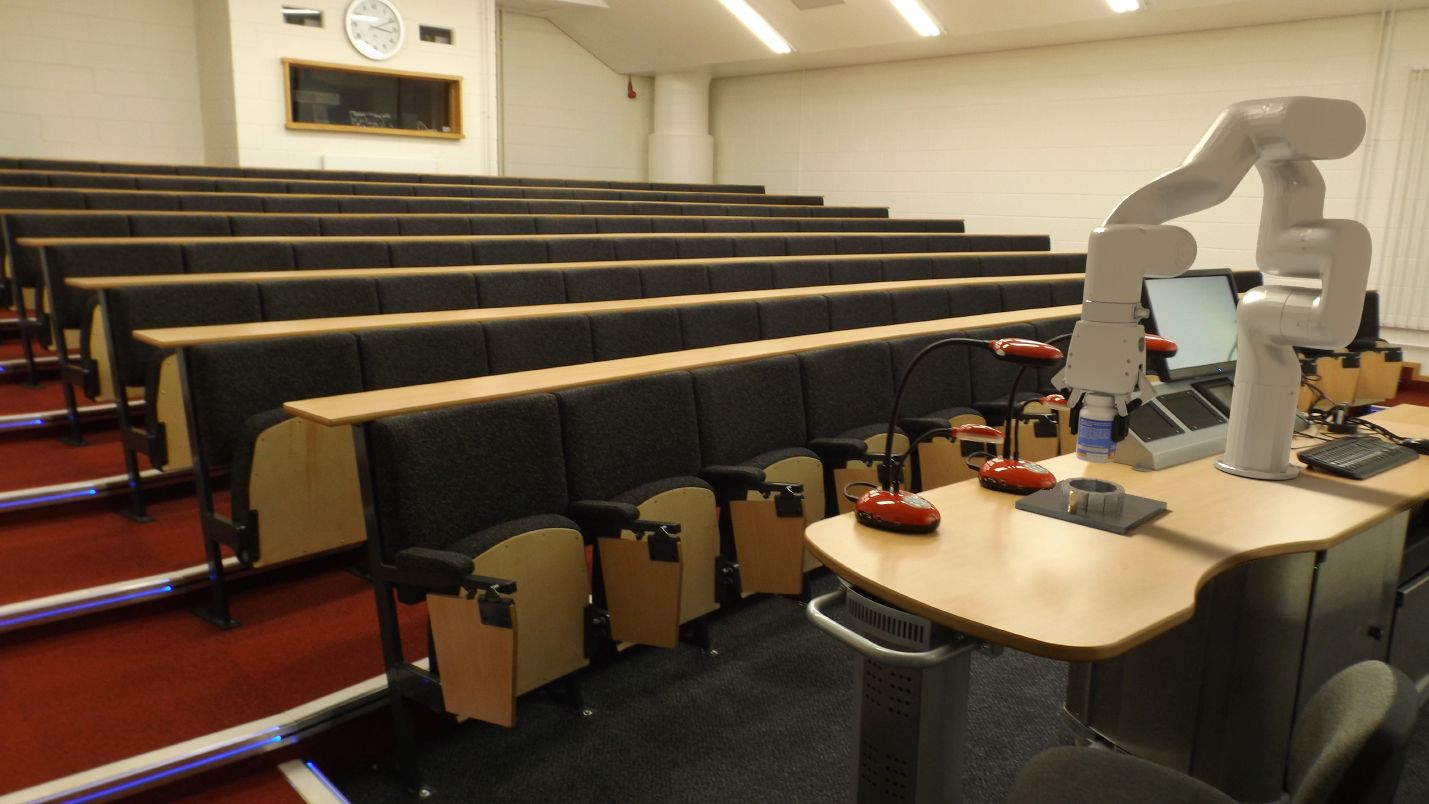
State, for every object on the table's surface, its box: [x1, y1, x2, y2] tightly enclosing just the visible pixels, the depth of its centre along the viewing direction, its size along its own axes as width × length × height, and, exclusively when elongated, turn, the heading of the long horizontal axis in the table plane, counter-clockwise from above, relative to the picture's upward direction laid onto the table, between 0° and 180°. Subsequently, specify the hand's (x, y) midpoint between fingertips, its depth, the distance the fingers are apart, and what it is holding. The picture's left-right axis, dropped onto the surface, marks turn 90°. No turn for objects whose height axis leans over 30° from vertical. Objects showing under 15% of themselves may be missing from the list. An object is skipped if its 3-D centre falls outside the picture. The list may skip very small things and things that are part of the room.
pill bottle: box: [1075, 391, 1118, 464], centre depth 134 cm, size 5×5×10 cm
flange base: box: [1014, 476, 1168, 536], centre depth 136 cm, size 16×16×4 cm
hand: (1097, 435), depth 134 cm, fingers closed on pill bottle, 5 cm apart
